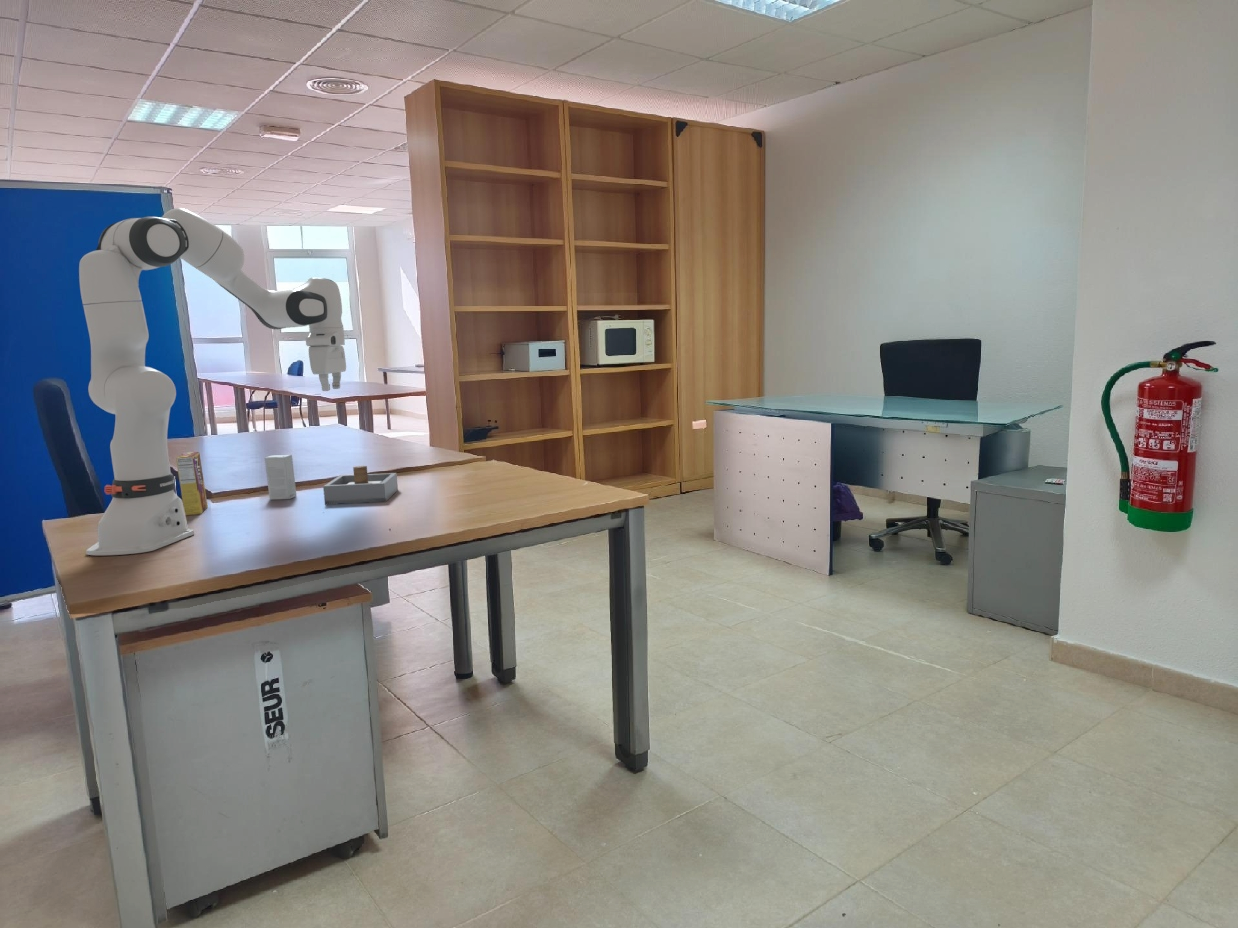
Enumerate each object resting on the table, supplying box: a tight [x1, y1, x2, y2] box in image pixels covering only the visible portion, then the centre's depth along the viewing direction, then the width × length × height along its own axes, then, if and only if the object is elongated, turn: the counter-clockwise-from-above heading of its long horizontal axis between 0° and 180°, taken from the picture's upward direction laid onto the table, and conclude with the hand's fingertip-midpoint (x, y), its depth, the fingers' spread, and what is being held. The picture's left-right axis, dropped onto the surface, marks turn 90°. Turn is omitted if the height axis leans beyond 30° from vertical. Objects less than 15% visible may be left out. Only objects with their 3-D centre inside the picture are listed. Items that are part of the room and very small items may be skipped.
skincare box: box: [264, 454, 297, 501], centre depth 222 cm, size 6×4×12 cm
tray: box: [322, 472, 399, 505], centre depth 220 cm, size 16×16×5 cm
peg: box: [352, 465, 369, 484], centre depth 219 cm, size 4×4×8 cm
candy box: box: [175, 451, 208, 516], centre depth 207 cm, size 9×4×15 cm, turn 17°
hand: (331, 389), depth 219 cm, fingers open, 8 cm apart
